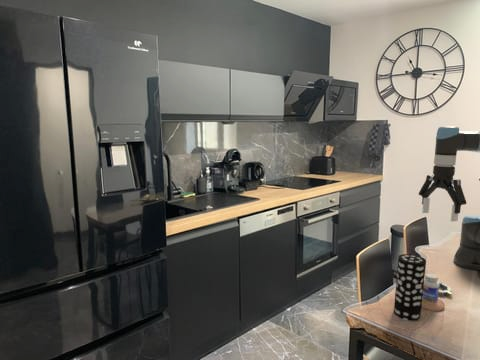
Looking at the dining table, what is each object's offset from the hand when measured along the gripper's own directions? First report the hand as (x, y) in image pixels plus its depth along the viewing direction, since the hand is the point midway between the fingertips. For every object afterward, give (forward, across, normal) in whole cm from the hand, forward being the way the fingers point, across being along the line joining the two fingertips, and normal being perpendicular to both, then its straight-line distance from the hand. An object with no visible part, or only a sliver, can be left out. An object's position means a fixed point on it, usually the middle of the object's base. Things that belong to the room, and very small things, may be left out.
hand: (439, 216), depth 143 cm
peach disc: (+27, -16, +20) cm, 37 cm away
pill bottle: (+26, -16, +20) cm, 36 cm away
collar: (+27, -9, +8) cm, 29 cm away
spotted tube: (+27, -19, +33) cm, 47 cm away
